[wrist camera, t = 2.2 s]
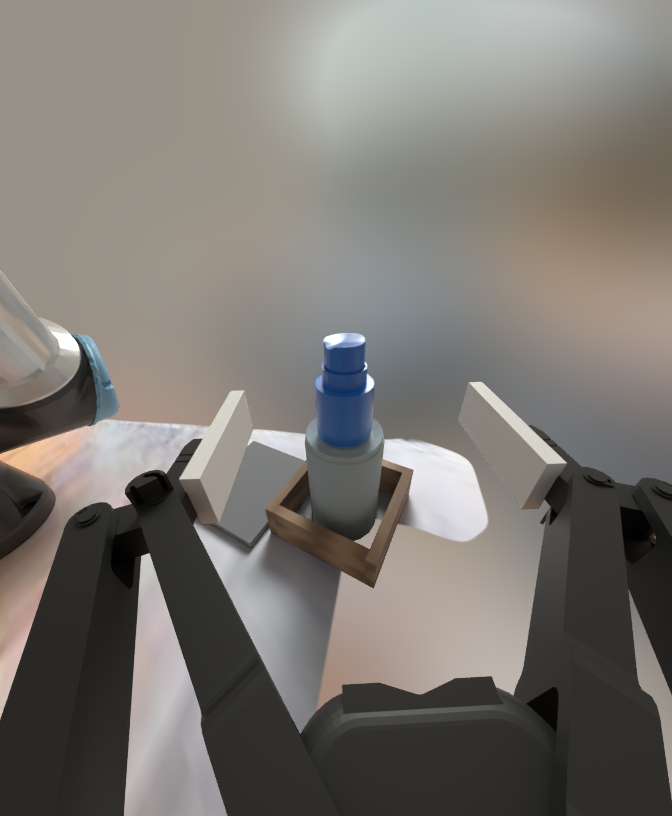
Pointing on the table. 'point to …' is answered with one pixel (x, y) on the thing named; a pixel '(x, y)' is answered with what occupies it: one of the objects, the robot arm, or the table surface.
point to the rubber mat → (256, 491)
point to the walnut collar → (329, 543)
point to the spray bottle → (344, 441)
